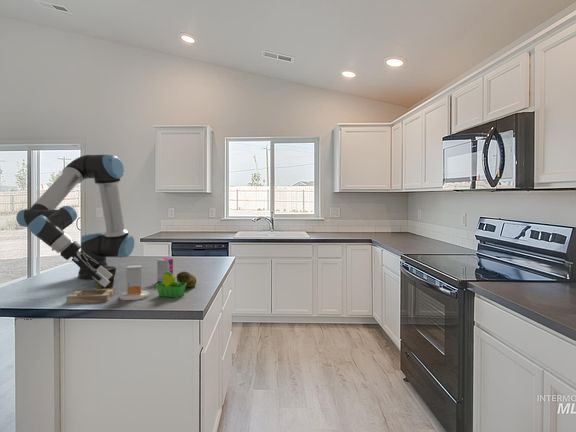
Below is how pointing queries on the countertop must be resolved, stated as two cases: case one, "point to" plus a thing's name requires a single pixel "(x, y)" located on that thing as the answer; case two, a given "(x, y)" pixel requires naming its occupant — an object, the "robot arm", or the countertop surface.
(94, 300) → the block
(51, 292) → the countertop surface
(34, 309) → the countertop surface
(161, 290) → the fruit basket
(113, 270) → the ceramic cup
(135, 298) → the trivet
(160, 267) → the supplement box
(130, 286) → the skincare box
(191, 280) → the potato
